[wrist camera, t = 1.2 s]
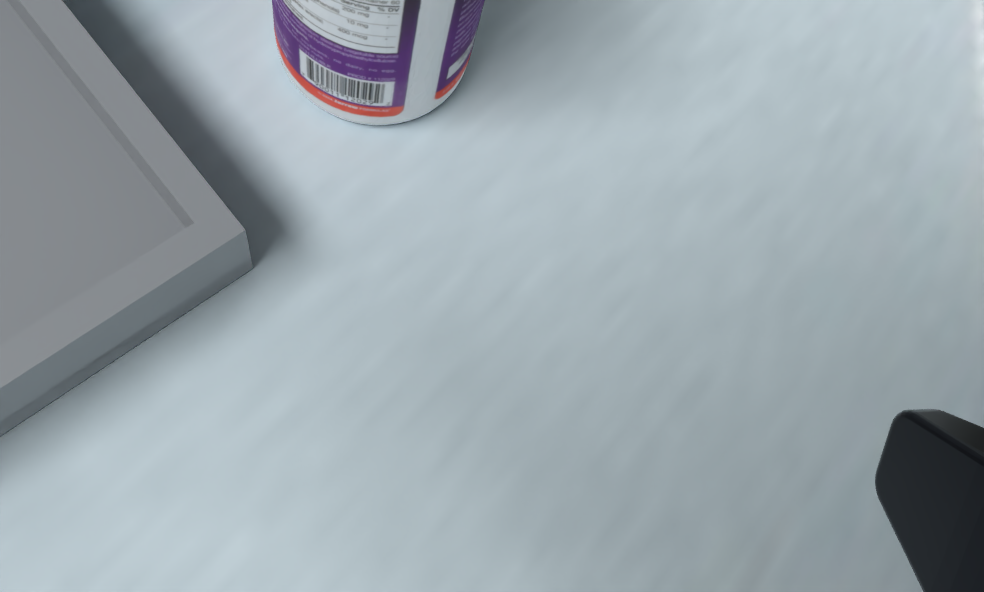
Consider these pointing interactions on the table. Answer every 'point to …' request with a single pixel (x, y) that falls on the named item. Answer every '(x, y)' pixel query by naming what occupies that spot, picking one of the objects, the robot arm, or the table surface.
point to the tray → (91, 213)
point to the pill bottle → (376, 54)
